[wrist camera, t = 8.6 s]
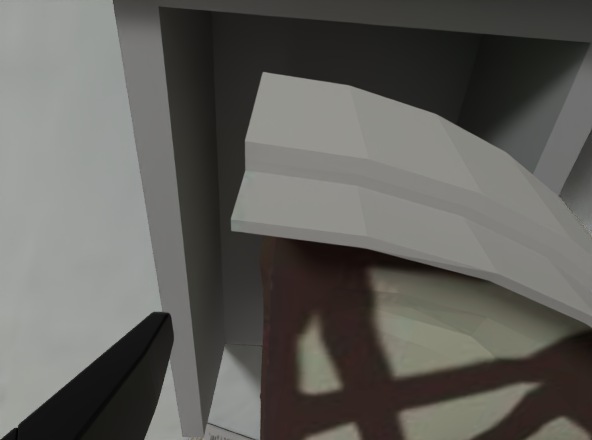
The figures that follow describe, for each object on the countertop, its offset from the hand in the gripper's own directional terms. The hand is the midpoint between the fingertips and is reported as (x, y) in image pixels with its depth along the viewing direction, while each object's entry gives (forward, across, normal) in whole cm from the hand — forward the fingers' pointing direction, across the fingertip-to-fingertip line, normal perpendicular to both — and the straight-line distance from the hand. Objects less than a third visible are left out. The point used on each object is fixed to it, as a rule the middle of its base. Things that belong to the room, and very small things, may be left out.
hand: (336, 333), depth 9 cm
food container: (+6, -1, 0) cm, 6 cm away
